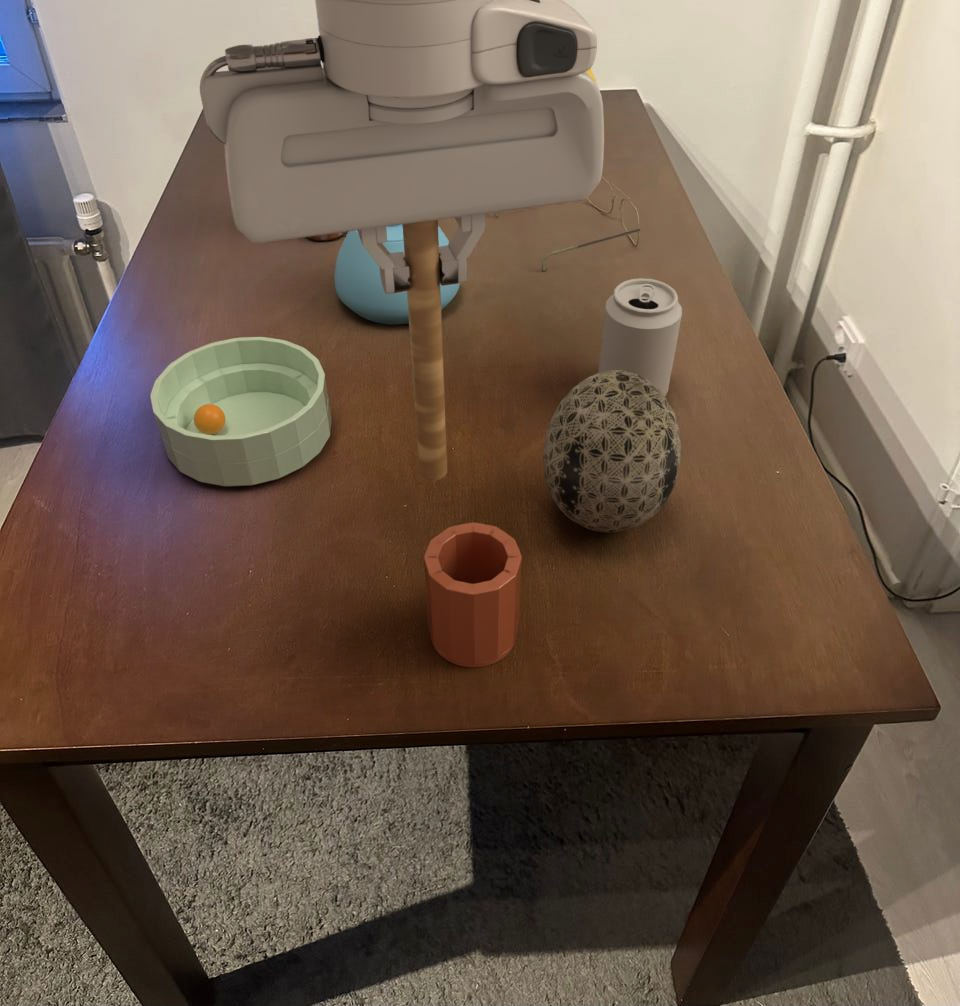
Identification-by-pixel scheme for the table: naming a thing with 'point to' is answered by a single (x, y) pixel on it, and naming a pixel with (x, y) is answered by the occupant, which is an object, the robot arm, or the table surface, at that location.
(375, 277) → the sugar bowl
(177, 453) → the bowl
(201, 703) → the table surface
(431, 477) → the stirring stick
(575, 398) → the decorative egg
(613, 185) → the eyeglasses
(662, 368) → the can
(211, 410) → the bead
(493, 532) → the utensil pot
